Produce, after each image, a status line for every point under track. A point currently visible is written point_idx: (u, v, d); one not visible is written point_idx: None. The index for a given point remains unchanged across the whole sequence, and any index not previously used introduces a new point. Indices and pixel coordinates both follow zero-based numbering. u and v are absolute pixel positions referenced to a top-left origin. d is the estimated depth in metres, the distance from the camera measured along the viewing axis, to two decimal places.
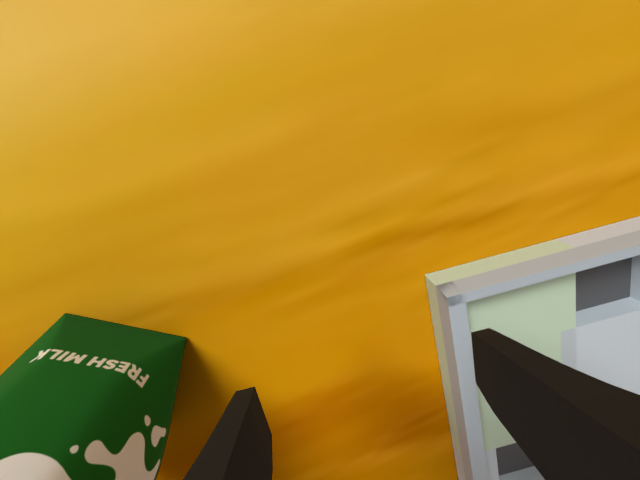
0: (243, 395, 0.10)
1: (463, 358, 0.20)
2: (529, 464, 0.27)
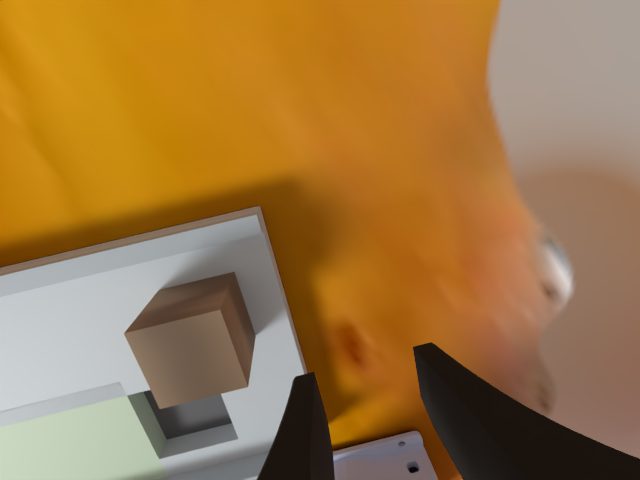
0: (305, 379, 0.10)
1: None
2: None
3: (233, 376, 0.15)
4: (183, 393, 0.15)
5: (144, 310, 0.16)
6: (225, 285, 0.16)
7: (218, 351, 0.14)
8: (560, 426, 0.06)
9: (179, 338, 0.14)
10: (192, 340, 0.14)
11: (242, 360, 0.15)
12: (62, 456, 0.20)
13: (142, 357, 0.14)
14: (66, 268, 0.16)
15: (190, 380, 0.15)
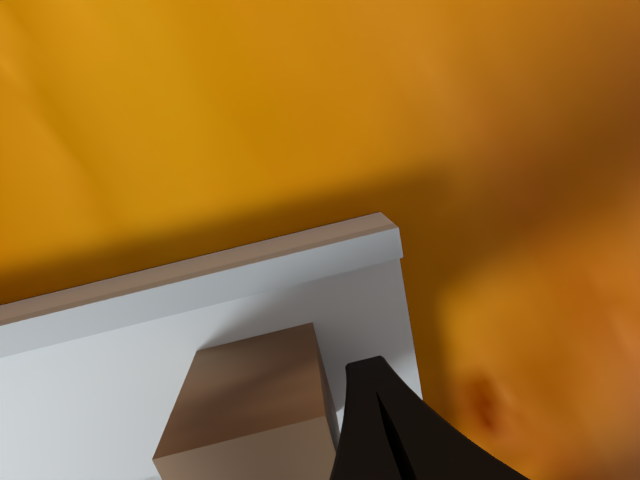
0: (359, 366, 0.10)
1: None
2: None
3: None
4: None
5: (180, 396, 0.09)
6: (309, 352, 0.10)
7: None
8: (476, 448, 0.06)
9: (249, 464, 0.08)
10: (271, 466, 0.08)
11: None
12: None
13: None
14: (95, 315, 0.10)
15: None
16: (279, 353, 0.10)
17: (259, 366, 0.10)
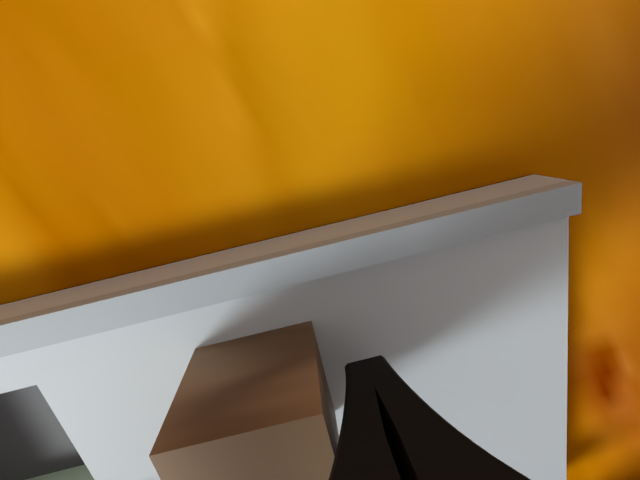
0: (358, 366, 0.10)
1: None
2: None
3: None
4: None
5: (178, 394, 0.09)
6: (308, 350, 0.10)
7: (312, 479, 0.08)
8: (476, 447, 0.06)
9: (246, 461, 0.08)
10: (268, 463, 0.08)
11: None
12: None
13: None
14: (283, 268, 0.10)
15: None
16: (277, 351, 0.10)
17: (257, 364, 0.10)
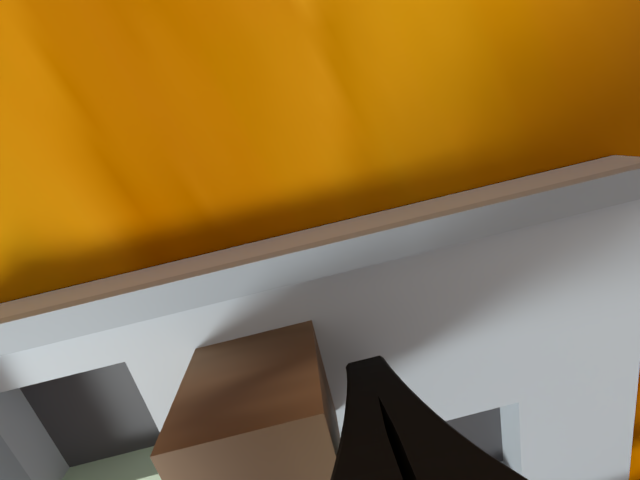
0: (359, 365, 0.10)
1: None
2: (493, 410, 0.15)
3: None
4: None
5: (179, 394, 0.09)
6: (308, 349, 0.10)
7: (313, 479, 0.08)
8: (475, 448, 0.06)
9: (247, 461, 0.08)
10: (270, 463, 0.08)
11: None
12: None
13: None
14: (380, 244, 0.10)
15: None
16: (278, 351, 0.10)
17: (258, 364, 0.10)
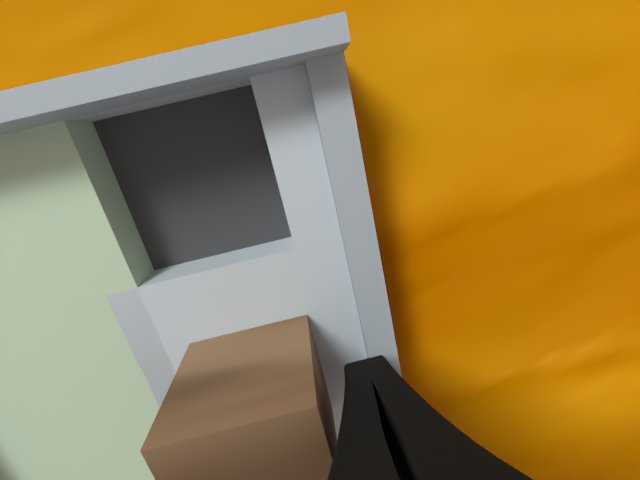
0: (357, 366, 0.10)
1: None
2: None
3: None
4: None
5: (312, 357, 0.09)
6: (336, 439, 0.11)
7: None
8: (478, 447, 0.06)
9: (301, 478, 0.08)
10: None
11: None
12: (58, 402, 0.11)
13: (264, 430, 0.08)
14: None
15: None
16: (329, 410, 0.11)
17: (327, 405, 0.10)
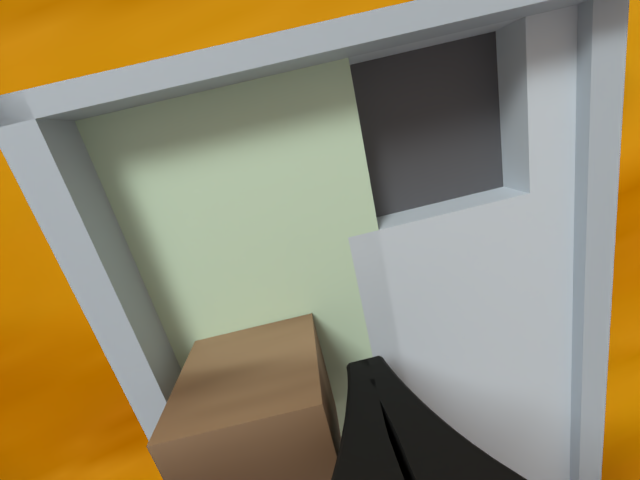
0: (360, 365, 0.10)
1: (81, 269, 0.09)
2: None
3: None
4: None
5: (317, 355, 0.09)
6: (340, 437, 0.11)
7: None
8: (474, 448, 0.06)
9: (306, 476, 0.08)
10: None
11: None
12: None
13: (269, 427, 0.08)
14: (596, 405, 0.13)
15: None
16: (333, 409, 0.11)
17: (331, 404, 0.11)
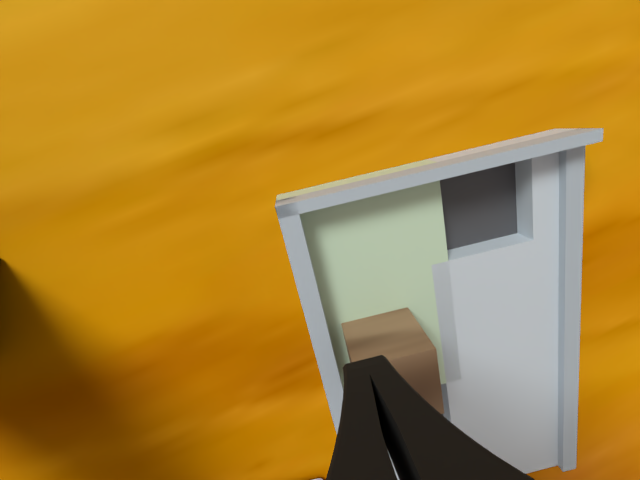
0: (356, 366, 0.10)
1: (305, 284, 0.17)
2: None
3: None
4: None
5: (421, 328, 0.18)
6: None
7: None
8: (479, 447, 0.06)
9: (424, 386, 0.17)
10: (420, 394, 0.17)
11: None
12: None
13: (410, 360, 0.16)
14: (573, 364, 0.22)
15: None
16: None
17: None
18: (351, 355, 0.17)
